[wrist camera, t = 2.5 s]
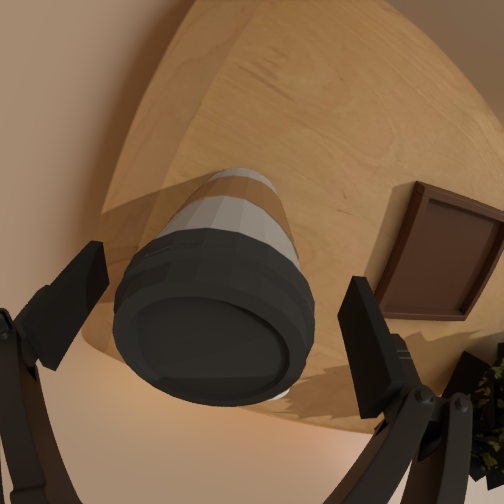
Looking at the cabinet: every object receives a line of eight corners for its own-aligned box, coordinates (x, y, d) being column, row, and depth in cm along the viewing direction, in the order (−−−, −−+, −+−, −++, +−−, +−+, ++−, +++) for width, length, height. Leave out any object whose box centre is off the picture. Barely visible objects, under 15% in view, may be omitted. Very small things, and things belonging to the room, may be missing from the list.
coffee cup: (168, 185, 22) (63, 312, 9) (260, 133, 20) (250, 213, 7) (222, 264, 26) (187, 420, 13) (308, 225, 23) (348, 384, 10)
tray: (416, 180, 21) (425, 187, 19) (507, 212, 21) (516, 219, 20) (368, 306, 28) (372, 317, 26) (459, 312, 28) (464, 321, 26)
